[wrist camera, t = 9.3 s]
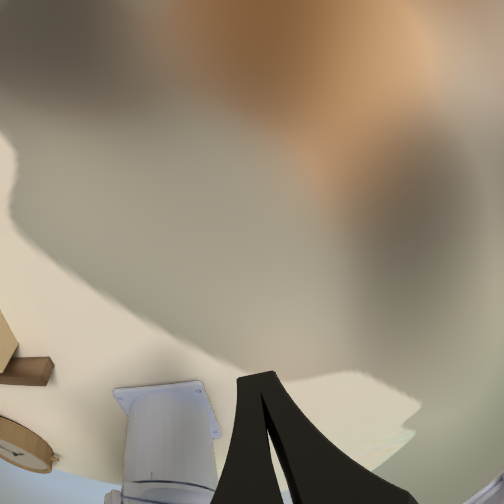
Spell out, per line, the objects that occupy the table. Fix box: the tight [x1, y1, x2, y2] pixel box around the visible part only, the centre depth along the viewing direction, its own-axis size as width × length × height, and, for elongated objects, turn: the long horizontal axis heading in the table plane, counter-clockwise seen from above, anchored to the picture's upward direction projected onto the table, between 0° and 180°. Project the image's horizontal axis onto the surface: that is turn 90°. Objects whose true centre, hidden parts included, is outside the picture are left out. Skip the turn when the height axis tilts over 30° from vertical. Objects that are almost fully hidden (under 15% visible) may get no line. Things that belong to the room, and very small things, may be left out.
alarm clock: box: [0, 417, 59, 474], centre depth 22 cm, size 11×5×15 cm
